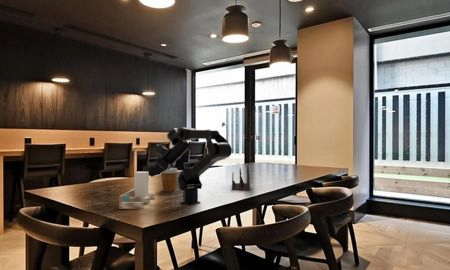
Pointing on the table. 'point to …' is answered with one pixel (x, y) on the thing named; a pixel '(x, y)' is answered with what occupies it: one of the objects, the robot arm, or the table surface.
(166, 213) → the table surface
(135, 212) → the table surface
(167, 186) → the disposable coffee cup
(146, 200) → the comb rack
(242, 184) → the letter holder
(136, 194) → the plug block
